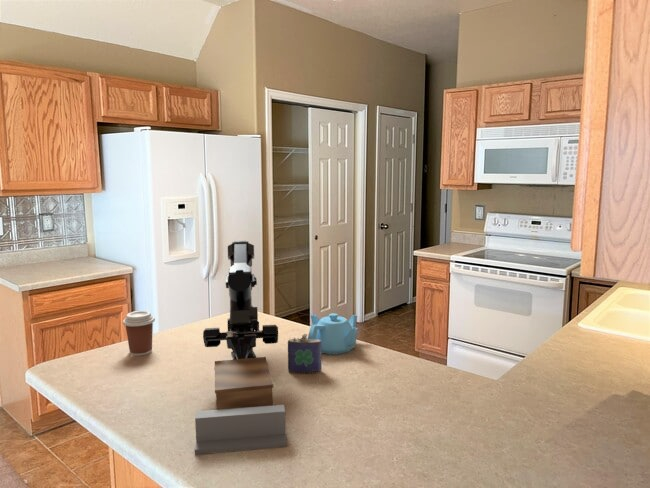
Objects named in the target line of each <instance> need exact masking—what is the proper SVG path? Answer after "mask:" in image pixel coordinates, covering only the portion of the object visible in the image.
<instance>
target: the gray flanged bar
mask: <svg viewBox="0 0 650 488" xmlns="http://www.w3.org/2000/svg"><path fill="white" fill-rule="evenodd" d="M285 409H286V408H285V404H277V405H276V404H275V405H274V404H273V406H260V407H247V408H234V409H220V410H217V409H211V410H207V409H206V410H198V411H197V410H196V413H195V419H194V424H195V440H196V442H195V446H194V447H195V448H194V455H205V454H207V455H208V454H215V453H226V452H239V451H248V450H249V451H250V450H261V449H271V448H272V449H273V448H274V449H275V448H284V447H287V446H288V445H287V435H286V410H285Z"/></svg>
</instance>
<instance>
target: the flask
mask: <svg viewBox="0 0 650 488" xmlns="http://www.w3.org/2000/svg"><path fill="white" fill-rule="evenodd" d="M307 339H308V334H306V333H303V334H302V335H301V337H300V338H298V337H297V338H296V337H294V338H290V339H288V340H287V370H288V373H290V374H298V375H299V374H300V375H302V374H306V375H308V374H317V373H318V374H320V373H321V372H322V352H321V340H319V339H315V340H307Z"/></svg>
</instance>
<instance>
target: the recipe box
mask: <svg viewBox="0 0 650 488" xmlns="http://www.w3.org/2000/svg"><path fill="white" fill-rule="evenodd" d="M271 375H272V374H271V371H270V367H269V363H268V360H267V357H266V356H260V357H256V358H246V359H235V360H234V359H226V360H225V359H224V360H214V394H215V400H216V401H215V402H216V405H215V406H216V410H220V409H234V408H247V407H260V406H273V405H274V399H273V397H274V396H273V395H274V394H273V389H274V382H273V378H272V376H271Z"/></svg>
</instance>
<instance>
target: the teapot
mask: <svg viewBox="0 0 650 488" xmlns="http://www.w3.org/2000/svg"><path fill="white" fill-rule="evenodd" d="M310 319H311V323H312V324H311V325H310V328H309V332H308V334H307V340H315V339H319V340H321V354H326V355H341V354H345V353H349V352H351V350H352V349H354V347H355V346H356V344H357V334H358V331H359V328H357V327H356V326H357V321H358V315H357V314H352V315H351V316H350V318H349V319H347V318H345V317H343V316H339V314H338V313H333V312H332V313H329V314H328V316H327V315H326V316H323V317H321V318H320V319H319V318H318V315H317V314H311V315H310Z"/></svg>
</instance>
